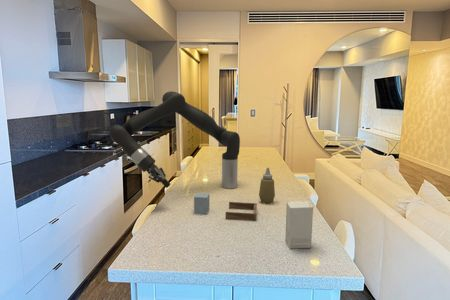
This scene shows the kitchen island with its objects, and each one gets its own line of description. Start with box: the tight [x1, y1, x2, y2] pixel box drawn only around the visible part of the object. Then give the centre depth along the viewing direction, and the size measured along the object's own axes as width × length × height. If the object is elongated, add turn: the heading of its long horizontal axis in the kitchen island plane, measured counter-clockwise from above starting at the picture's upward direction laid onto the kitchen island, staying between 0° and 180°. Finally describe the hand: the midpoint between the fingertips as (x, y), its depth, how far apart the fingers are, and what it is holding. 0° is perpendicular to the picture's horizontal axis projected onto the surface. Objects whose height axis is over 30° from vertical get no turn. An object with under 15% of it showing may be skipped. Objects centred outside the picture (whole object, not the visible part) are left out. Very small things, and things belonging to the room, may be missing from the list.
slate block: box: [193, 192, 210, 215], centre depth 139 cm, size 6×6×8 cm
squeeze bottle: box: [258, 167, 276, 205], centre depth 152 cm, size 8×8×18 cm
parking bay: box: [225, 201, 258, 222], centre depth 137 cm, size 14×13×3 cm
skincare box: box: [285, 200, 314, 249], centre depth 108 cm, size 8×7×16 cm
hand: (168, 186), depth 140 cm, fingers closed
